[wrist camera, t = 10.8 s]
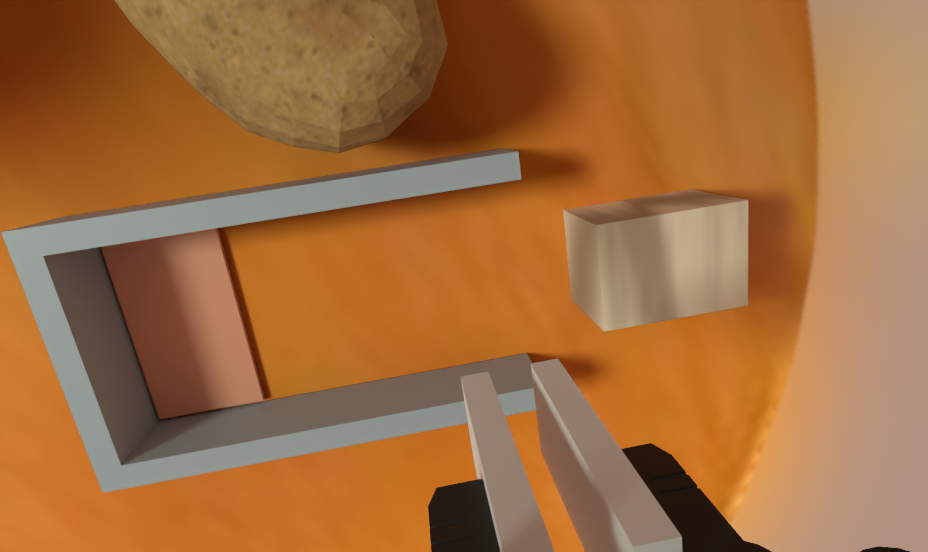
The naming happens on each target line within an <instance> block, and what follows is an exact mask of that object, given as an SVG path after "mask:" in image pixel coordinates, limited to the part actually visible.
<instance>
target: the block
mask: <svg viewBox="0 0 928 552" xmlns="http://www.w3.org/2000/svg"><path fill="white" fill-rule="evenodd" d="M563 213H564V224H565V235H566V246H567V257H568V267H569V278H570V289H571V300H572V301H573V302H574V303H575V304H576V305H577V306H578V307H579V308H580V309H581V310H582V311H583V312H585V313H586V314H587V315H588V316H589V317H590V318H591V319H592V320H593V321H594V322H595V323H596V324H597V325H598V326H599V327H600V328H601V329H602V330H603V331H604V332H605V331H610V330H616V329H621V328H627V327H632V326H638V325H644V324H649V323H655V322H660V321H666V320H671V319H677V318H682V317H688V316H693V315H699V314H704V313H710V312H716V311H721V310H727V309H732V308H738V307H743V306H748V200H745V199H740V198H735V197H729V196H724V195H719V194H714V193H708V192H703V191H698V190H693V189H689V190H683V191H677V192H671V193H664V194H658V195H652V196H646V197H640V198H634V199H627V200H621V201H615V202H609V203H603V204H597V205H590V206H584V207H578V208H572V209H566V210H563Z"/></svg>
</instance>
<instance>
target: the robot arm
mask: <svg viewBox="0 0 928 552" xmlns="http://www.w3.org/2000/svg"><path fill="white" fill-rule="evenodd" d="M531 372H532V380H533V388H534V397H535V405H536V413H537V421H538V430H539V438H540V446H541V452H542V455H543V457H544V459H545V461H546V464H547V466H548V468H549V470H550V473H551V475H552V477H553V480H554V482H555V484H556V486H557V489H558V491H559V493H560V495H561V498H562V500H563V502H564V505H565V507H566V509H567V511H568V514H569V516H570V518H571V520H572V523H573V525H574V527H575V530H576V532H577V534H578V536H579V539H580V541H581V543H582V545H583V548H584V550H585V552H771V551H769V550H767V549H765V548H764V547H761V546H760V545H758V544H754V543H750V542H745V541H743V540H742V538H741V537H740V536H739V535H738V534H737V533H736V531H735V530H734V529H733V528H732V526H731V525H730V524H729V523H728V522H727V521H726V519H725V518H724V517H723V516H722V515H721V513H720V512H719V511H718V510H717V509H716V507H715V506H714V505H713V504H712V503H711V501H710V500H709V499H708V498H707V497H706V495H705V494H704V493H703V492H702V491H701V490H700V488H699V489H698V488H697V485H696V484H695V482H694V481H693V480H692V479H691V478H690V476H689V475H686V472H685V470H684V469H683V468H682V467H681V466H680V464H679V463H678V462H677V461H676V460H675V459H674V457H673V456H672V455H670V454H669V453H667V452H665V451H664V450H662V449H660V448H658V447H657V446H655V445H653V444H651V443H650V444H645V445H640V446H635V447H630V448H625V449H621V448H620V447H619V445H618V444H617V443H616V441H615V440H614V438H613V437H612V435H611V434H610V432H609V431H608V430H607V428H606V427H605V425H604V424H603V422H602V421H601V420H600V418H599V417H598V415H597V414H596V412H595V411H594V409H593V408H592V407H591V405H590V404H589V402H588V401H587V399H586V398H585V397H584V395H583V394H582V392H581V391H580V389H579V388H578V386H577V385H576V384H575V382H574V381H573V379H572V378H571V376H570V375H569V374H568V372H567V371H566V369H565V368H564V366H563V365H562V363H561V362H560V361H559V359H553V360H547V361H542V362H536V363H531ZM461 383H462V390H463V396H464V402H465V408H466V414H467V420H468V427H469V433H470V439H471V445H472V451H473V457H474V463H475V468H476V473H477V477H478V480H473V481H468V482H463V483H458V484H453V485H448V486H443V487H438V488H436V491H435V493H434V495H433V497H432V499H431V501H430V504H429V506H428V510H429V523H430V537H431V550H432V552H555V551H554V549H553V546H552V543H551V540H550V538H549V535H548V532H547V529H546V527H545V524H544V521H543V519H542V516H541V513H540V510H539V508H538V505H537V502H536V500H535V497H534V494H533V491H532V489H531V486H530V483H529V480H528V478H527V475H526V472H525V470H524V467H523V464H522V461H521V459H520V456H519V453H518V450H517V448H516V445H515V442H514V440H513V437H512V434H511V431H510V429H509V426H508V423H507V421H506V418H505V415H504V412H503V410H502V407H501V404H500V401H499V399H498V396H497V393H496V391H495V388H494V385H493V382H492V380H491V377H490V374H489V371H488V372H483V373H477V374H472V375H466V376H461ZM861 552H909V551H906V550H902V549H899V548H888V547H874V548H870V549H865V550H862V551H861Z"/></svg>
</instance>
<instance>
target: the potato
mask: <svg viewBox="0 0 928 552" xmlns="http://www.w3.org/2000/svg"><path fill="white" fill-rule="evenodd" d="M114 1H115V2H116V3H117V5H118V6H119V7H120V9H121V10H122V11H123V13H124V14H125V15H126V17H127V18H128V19H129V21H130V22H131V24H132V25H133V26H134V27H135V28H136V29H137V30H138V31H139V32H140V33H141V35H142V36H143V37H144V38H145V39H146V40H147V41H148V42H149V43H150V44H151V45H152V46H153V47H154V48H155V49H156V50H157V51H158V52H159V53H160V54H161V55H162V56H163V57H164V58H165V60H166V61H167V62H168V63H169V64H170V65H171V66H172V67H173V68H174V69H175V70H176V71H177V72H178V73H179V74H180V75H181V76H182V77H183V78H184V79H185V80H186V81H187V82H188V83H190V84H191V85H192V86H193V87H194V88H195V89H196V90H197V91H198V92H199V93H200V94H201V95H202V96H203V97H204V98H205V99H207V100H208V101H209V102H210V103H212V104H213V105H214V106H215V107H217V108H218V109H219V110H221V111H222V112H223V113H225V114H226V115H227V116H228V117H230V118H231V119H232V120H234V121H235V122H236V123H238V124H239V125H240V126H242V127H243V128H244V129H245V130H247V131H248V132H251V133H254V134H257V135H260V136H263V137H266V138H269V139H272V140H275V141H278V142H281V143H284V144H287V145H290V146H293V147H300V148H307V149H314V150H321V151H328V152H335V153H341V152H344V151H347V150H350V149H353V148H357V147H360V146H363V145H366V144H369V143H373V142H376V141H379V140H382V139H386V138H387V137H388V136H389V135H390V134H391V133H392V132H393V131H394V130H395V129H396V128H397V127H398V126H399V125H400V124H401V123H402V122H403V121H404V120H405V119H406V118H408V117H409V116H410V115H411V114H412V113H413V112H414V111H415V110H417V109H418V108H419V107H420V106H421V105H423V104H424V103H425V102H426V101H427V100H429V98H430V95H431V92H432V89H433V87H434V84H435V81H436V78H437V75H438V73H439V70H440V67H441V64H442V62H443V59H444V56H445V53H446V51H447V48H448V42H447V38H446V34H445V30H444V26H443V22H442V19H441V15H440V11H439V7H438V3H437V0H114Z"/></svg>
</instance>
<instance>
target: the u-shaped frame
mask: <svg viewBox="0 0 928 552" xmlns="http://www.w3.org/2000/svg"><path fill="white" fill-rule="evenodd" d="M514 180H521V170H520V162H519V153H518V151H513V150H507V149H496V150H490V151H483V152H477V153H471V154H464V155H458V156H451V157H445V158H438V159H432V160H426V161H419V162H413V163H406V164H400V165H393V166H387V167H381V168H374V169H368V170H361V171H355V172H349V173H342V174H336V175H329V176H323V177H316V178H310V179H304V180H297V181H291V182H284V183H278V184H271V185H265V186H259V187H252V188H246V189H239V190H233V191H227V192H220V193H214V194H207V195H201V196H194V197H188V198H182V199H175V200H169V201H162V202H156V203H149V204H143V205H137V206H130V207H124V208H117V209H111V210H105V211H98V212H92V213H85V214H79V215H72V216H66V217H61V218H57V219H52V220H48V221H44V222H40V223H36V224H32V225H28V226H24V227H20V228H16V229H12V230H8V231H4V232H1V233H2V236H3V238H4V241H5V243H6V246H7V248H8V251H9V254H10V256H11V259H12V261H13V264H14V266H15V269H16V271H17V274H18V277H19V279H20V282H21V284H22V287H23V289H24V292H25V295H26V297H27V300H28V302H29V305H30V307H31V310H32V312H33V315H34V318H35V320H36V323H37V325H38V328H39V330H40V333H41V336H42V338H43V341H44V343H45V346H46V348H47V351H48V353H49V356H50V359H51V361H52V364H53V366H54V369H55V371H56V374H57V377H58V379H59V382H60V384H61V387H62V389H63V392H64V394H65V397H66V400H67V402H68V405H69V407H70V410H71V412H72V415H73V418H74V420H75V423H76V425H77V428H78V430H79V433H80V435H81V438H82V441H83V443H84V446H85V448H86V451H87V453H88V456H89V459H90V461H91V464H92V466H93V469H94V471H95V474H96V476H97V479H98V482H99V484H100V487H101V489H102V492H103V493H105V492H110V491H115V490H120V489H125V488H131V487H136V486H141V485H146V484H152V483H157V482H162V481H167V480H172V479H178V478H183V477H188V476H193V475H199V474H204V473H209V472H214V471H220V470H225V469H230V468H235V467H240V466H246V465H251V464H256V463H261V462H267V461H272V460H277V459H282V458H287V457H293V456H298V455H303V454H308V453H314V452H319V451H324V450H329V449H335V448H340V447H345V446H350V445H355V444H361V443H366V442H371V441H376V440H382V439H387V438H392V437H397V436H402V435H408V434H413V433H418V432H423V431H429V430H434V429H439V428H444V427H450V426H455V425H460V424H465V423H468V420H467V414H466V408H465V402H464V396H463V390H462V383H461V376H466V375H472V374H477V373H483V372H488V371H489V374H490V377H491V380H492V382H493V385H494V388H495V391H496V393H497V396H498V399H499V401H500V404H501V407H502V410H503V412H504V415H505V416H507V415H512V414H517V413H523V412H528V411H533V410H536V405H535V397H534V388H533V380H532V372H531V363H532V362H531V360H530V358H529V356H528V355H527V353H525V354H519V355H514V356H508V357H503V358H498V359H492V360H487V361H481V362H476V363H470V364H465V365H459V366H454V367H448V368H443V369H438V370H432V371H427V372H421V373H416V374H410V375H405V376H399V377H394V378H389V379H383V380H378V381H372V382H367V383H361V384H356V385H350V386H345V387H339V388H334V389H329V390H323V391H318V392H312V393H307V394H301V395H296V396H290V397H285V398H280V399H274V400H269V401H263V400H264V398H265V397H264V393H263V389H262V386H261V382H260V378H259V375H258V371H257V368H256V364H255V360H254V357H253V353H252V349H251V346H250V342H249V339H248V335H247V331H246V328H245V324H244V321H243V317H242V313H241V310H240V306H239V302H238V299H237V295H236V292H235V288H234V284H233V281H232V277H231V273H230V270H229V266H228V263H227V259H226V255H225V252H224V248H223V245H222V241H221V237H220V234H219V230H218V228H221V227H227V226H234V225H240V224H246V223H252V222H259V221H265V220H271V219H277V218H284V217H290V216H296V215H302V214H308V213H315V212H321V211H327V210H333V209H340V208H346V207H352V206H358V205H365V204H371V203H377V202H383V201H390V200H396V199H402V198H408V197H415V196H421V195H427V194H433V193H440V192H446V191H452V190H458V189H464V188H471V187H477V186H483V185H489V184H496V183H502V182H508V181H514ZM100 247H101V248H100ZM101 249H102V251H101ZM102 252H103V254H102ZM103 255H104V257H103ZM104 258H105V260H104ZM105 261H106V263H105ZM106 264H107V266H106ZM107 267H108V269H107ZM108 270H109V272H108ZM109 273H110V275H109ZM110 276H111V278H112V280H111V278H110ZM112 281H113V283H112ZM113 284H114V286H113ZM114 287H115V289H114ZM115 290H116V292H115ZM116 293H117V295H116ZM117 296H118V298H117ZM118 299H119V301H118ZM119 302H120V304H119ZM120 305H121V307H120ZM121 308H122V310H121ZM122 311H123V313H122ZM123 314H124V316H123ZM124 317H125V319H124ZM125 320H126V322H127V324H126V322H125ZM127 325H128V327H127ZM128 328H129V330H128ZM129 331H130V333H129ZM130 334H131V336H130ZM131 337H132V339H131ZM132 340H133V342H132ZM133 343H134V345H133ZM134 346H135V348H134ZM135 349H136V351H135ZM136 352H137V354H136ZM137 355H138V357H137ZM138 358H139V360H138ZM139 361H140V363H139ZM140 364H141V366H140ZM141 367H142V368H141ZM142 369H143V371H142ZM143 372H144V374H143ZM144 375H145V377H144ZM145 378H146V380H145ZM146 381H147V383H146ZM147 384H148V386H147ZM148 387H149V389H148ZM149 390H150V392H149ZM150 393H151V395H150ZM151 396H152V398H151ZM152 399H153V401H152ZM257 401H263V402H258V403H252V402H257ZM153 402H154V404H153ZM247 403H252V404H247ZM241 404H247V405H241ZM154 405H155V407H154ZM236 405H241V406H236ZM230 406H236V407H230ZM225 407H230V408H225ZM155 408H156V409H155ZM219 408H225V409H220V410H214V409H219ZM208 410H214V411H209V412H203V411H208ZM156 411H157V412H156ZM198 412H203V413H198ZM157 413H158V415H157ZM192 413H198V414H192ZM187 414H192V415H187ZM181 415H187V416H181ZM158 416H159V418H158ZM176 416H181V417H176ZM170 417H176V418H171V419H165V418H170ZM159 419H165V420H160V421H159Z"/></svg>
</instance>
